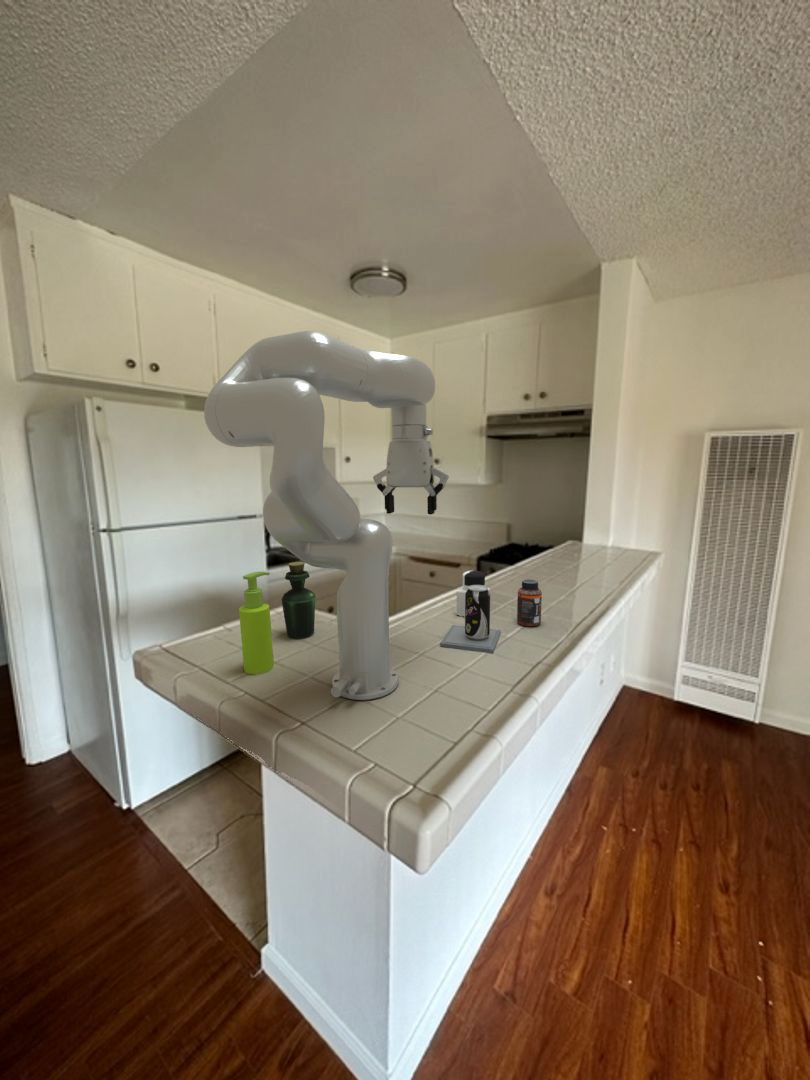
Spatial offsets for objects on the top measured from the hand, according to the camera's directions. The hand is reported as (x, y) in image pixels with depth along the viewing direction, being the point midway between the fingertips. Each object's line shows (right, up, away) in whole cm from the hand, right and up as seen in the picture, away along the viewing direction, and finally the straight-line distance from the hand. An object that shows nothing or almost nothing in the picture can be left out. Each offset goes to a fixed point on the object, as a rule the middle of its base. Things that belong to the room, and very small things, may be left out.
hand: (410, 513), depth 98 cm
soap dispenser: (-31, -33, -6) cm, 46 cm away
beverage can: (+16, -29, +5) cm, 33 cm away
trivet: (+14, -30, +5) cm, 33 cm away
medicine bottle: (+18, -27, +23) cm, 39 cm away
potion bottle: (-27, -30, +11) cm, 42 cm away
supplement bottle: (+31, -28, +15) cm, 44 cm away
